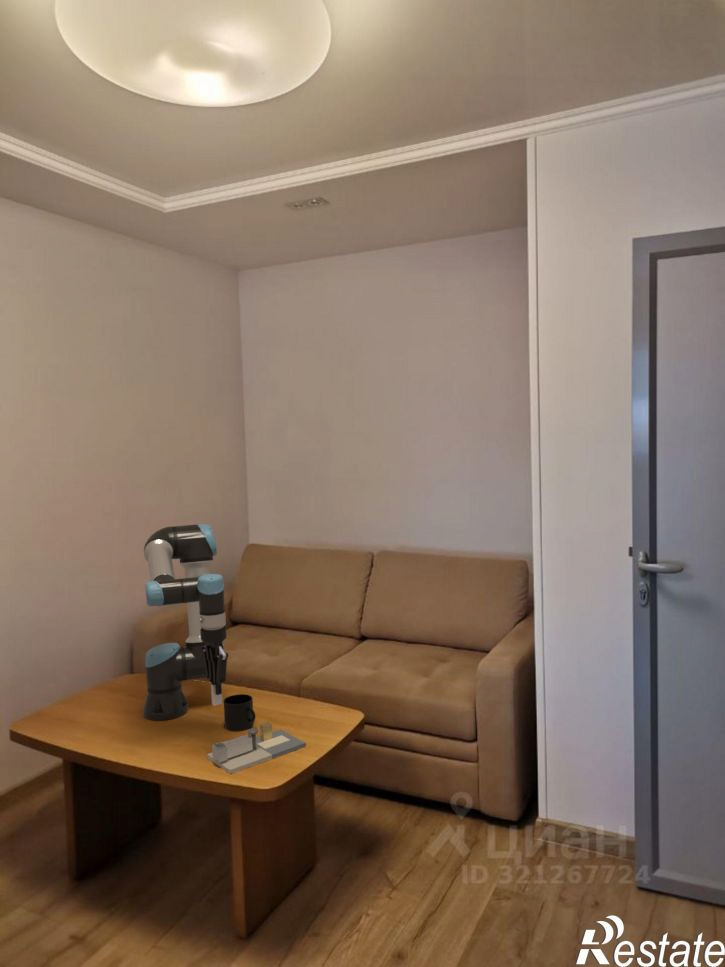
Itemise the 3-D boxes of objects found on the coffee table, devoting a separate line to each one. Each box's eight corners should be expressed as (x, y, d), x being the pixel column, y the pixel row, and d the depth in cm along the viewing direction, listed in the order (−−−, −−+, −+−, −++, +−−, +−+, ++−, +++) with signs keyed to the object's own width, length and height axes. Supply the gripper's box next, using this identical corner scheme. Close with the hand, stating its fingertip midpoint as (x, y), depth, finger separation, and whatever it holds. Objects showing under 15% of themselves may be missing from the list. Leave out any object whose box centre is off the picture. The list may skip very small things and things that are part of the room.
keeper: (260, 739, 227) (259, 724, 227) (268, 736, 229) (267, 721, 229) (264, 741, 226) (263, 726, 225) (272, 739, 228) (271, 723, 227)
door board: (207, 757, 219) (205, 734, 218) (280, 732, 235) (279, 711, 234) (230, 774, 208) (228, 750, 207) (305, 746, 224) (304, 724, 224)
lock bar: (246, 746, 222) (246, 733, 221) (254, 750, 218) (253, 737, 218) (212, 757, 215) (211, 744, 214) (219, 762, 211) (219, 749, 211)
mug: (245, 735, 234) (244, 708, 233) (218, 728, 241) (217, 701, 240) (265, 725, 242) (264, 698, 241) (239, 718, 248) (237, 692, 248)
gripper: (191, 625, 221) (195, 701, 222) (211, 633, 211) (216, 713, 212) (214, 620, 225) (218, 695, 227) (235, 628, 215) (239, 706, 217)
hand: (217, 703), depth 220 cm, fingers closed
